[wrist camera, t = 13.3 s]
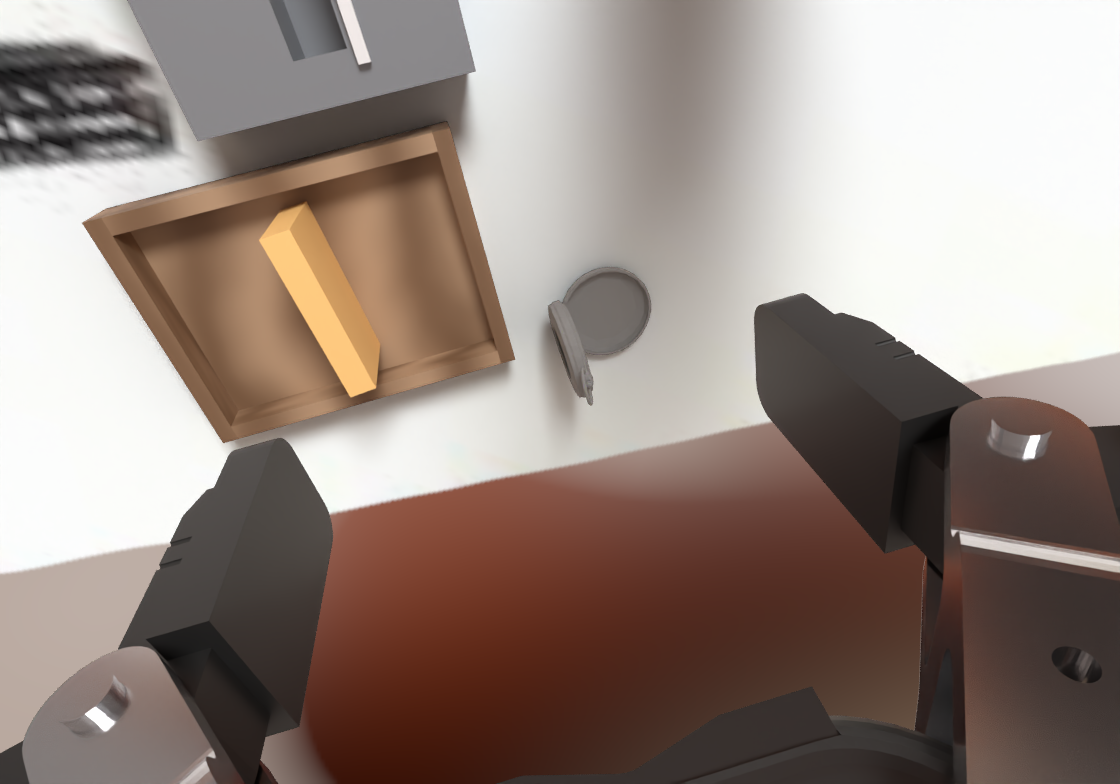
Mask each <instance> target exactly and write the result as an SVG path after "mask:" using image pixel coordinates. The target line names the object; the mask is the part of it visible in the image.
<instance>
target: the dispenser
mask: <svg viewBox="0 0 1120 784" xmlns="http://www.w3.org/2000/svg"><path fill="white" fill-rule="evenodd" d="M127 1H128V3H129V5H130V7H131V9H132V11H133V13H134V15H135V17H136V19H137V21H138V23H139V25H140V27H141V29H142V31H143V33H144V35H145V37H146V39H147V41H148V43H149V45H150V47H151V49H152V51H153V53H154V55H155V57H156V59H157V61H158V63H159V65H160V67H161V69H162V71H163V73H164V75H165V77H166V79H167V81H168V83H169V85H170V87H171V89H172V91H173V93H174V95H175V97H176V99H177V101H178V103H179V105H180V107H181V109H182V111H183V113H184V115H185V117H186V119H187V121H188V123H189V125H190V127H191V129H192V131H193V133H194V135H195V137H196V139H197V141H201V140H205V139H209V138H213V137H217V136H221V135H225V134H229V133H233V132H237V131H241V130H245V129H249V128H253V127H257V126H261V125H265V124H269V123H273V122H277V121H281V120H285V119H288V118H292V117H296V116H300V115H304V114H308V113H312V112H316V111H320V110H324V109H328V108H332V107H336V106H340V105H344V104H348V103H352V102H356V101H360V100H364V99H368V98H372V97H376V96H380V95H384V94H388V93H392V92H396V91H400V90H404V89H408V88H412V87H416V86H420V85H424V84H428V83H432V82H436V81H440V80H444V79H448V78H452V77H456V76H459V75H463V74H467V73H471V72H475V71H476V70H475V66H474V62H473V58H472V54H471V50H470V46H469V42H468V38H467V34H466V30H465V26H464V22H463V18H462V14H461V10H460V6H459V2H458V0H127Z"/></svg>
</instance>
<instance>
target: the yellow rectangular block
mask: <svg viewBox="0 0 1120 784" xmlns="http://www.w3.org/2000/svg"><path fill="white" fill-rule="evenodd" d="M259 241H260V243H261V245H262V246H263V248H264V250H265V251H266V253H267V255H268V257H269V258H270V260H271V262H272V263H273V265H274V267H275V269H276V270H277V272H278V274H279V275H280V277H281V279H282V281H283V282H284V284H285V286H286V288H287V289H288V291H289V293H290V294H291V296H292V298H293V300H294V301H295V303H296V305H297V306H298V308H299V310H300V312H301V313H302V315H303V317H304V318H305V320H306V322H307V324H308V325H309V327H310V329H311V330H312V332H313V334H314V336H315V337H316V339H317V341H318V343H319V344H320V346H321V348H322V349H323V351H324V353H325V355H326V356H327V358H328V360H329V361H330V363H331V365H332V367H333V368H334V370H335V372H336V373H337V375H338V377H339V379H340V380H341V382H342V384H343V385H344V387H345V389H346V391H347V392H348V394H349V396H350V397H353V396H356V395H359V394H361V393H364V392H367V391H370V390H373V389H375V388H376V384H377V374H378V363H379V353H380V343H379V341H378V339H377V337H376V335H375V333H374V331H373V329H372V327H371V325H370V323H369V321H368V319H367V317H366V316H365V314H364V312H363V310H362V308H361V306H360V304H359V302H358V300H357V298H356V296H355V294H354V292H353V290H352V289H351V287H350V285H349V283H348V281H347V279H346V277H345V275H344V273H343V271H342V269H341V267H340V265H339V263H338V261H337V260H336V258H335V256H334V254H333V252H332V250H331V248H330V246H329V244H328V242H327V240H326V238H325V236H324V234H323V232H322V231H321V229H320V227H319V225H318V223H317V221H316V219H315V217H314V215H313V213H312V211H311V209H310V207H309V205H308V203H307V202H303V203H300V204H297V205H294V206H291V207H289V208H286V209H283V210H280V212H279V213H278V214H277V216H276V217H275V219H274V220H273V221H272V223H271V224H270V226H269V227H268V228H267V230H266V231H265V233H264V234H263V235H262V237H261V238H260V239H259Z"/></svg>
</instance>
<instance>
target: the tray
mask: <svg viewBox="0 0 1120 784" xmlns="http://www.w3.org/2000/svg"><path fill="white" fill-rule="evenodd" d="M303 202H307V203H308V205H309V207H310V209H311V211H312V213H313V215H314V217H315V219H316V221H317V223H318V225H319V227H320V229H321V231H322V232H323V234H324V236H325V238H326V240H327V242H328V244H329V246H330V248H331V250H332V252H333V254H334V256H335V258H336V260H337V261H338V263H339V265H340V267H341V269H342V271H343V273H344V275H345V277H346V279H347V281H348V283H349V285H350V287H351V289H352V290H353V292H354V294H355V296H356V298H357V300H358V302H359V304H360V306H361V308H362V310H363V312H364V314H365V316H366V317H367V319H368V321H369V323H370V325H371V327H372V329H373V331H374V333H375V335H376V337H377V339H378V341H379V343H380V353H379V363H378V374H377V384H376V388H375V389H373V390H370V391H367V392H364V393H361V394H359V395H356V396H353V397H350V396H349V394H348V392H347V391H346V389H345V387H344V385H343V384H342V382H341V380H340V379H339V377H338V375H337V373H336V372H335V370H334V368H333V367H332V365H331V363H330V361H329V360H328V358H327V356H326V355H325V353H324V351H323V349H322V348H321V346H320V344H319V343H318V341H317V339H316V337H315V336H314V334H313V332H312V330H311V329H310V327H309V325H308V324H307V322H306V320H305V318H304V317H303V315H302V313H301V312H300V310H299V308H298V306H297V305H296V303H295V301H294V300H293V298H292V296H291V294H290V293H289V291H288V289H287V288H286V286H285V284H284V282H283V281H282V279H281V277H280V275H279V274H278V272H277V270H276V269H275V267H274V265H273V263H272V262H271V260H270V258H269V257H268V255H267V253H266V251H265V250H264V248H263V246H262V245H261V243H260V241H259V239H260V238H261V237H262V235H263V234H264V233H265V231H266V230H267V228H268V227H269V226H270V224H271V223H272V221H273V220H274V219H275V217H276V216H277V214H278V213H279V212H280V210H283V209H286V208H289V207H291V206H294V205H297V204H300V203H303ZM82 224H83V225H84V227H85V228H86V230H87V231H88V233H89V235H90V236H91V238H92V239H93V241H94V242H95V244H96V245H97V247H98V249H99V250H100V252H101V253H102V255H103V256H104V258H105V259H106V261H107V263H108V264H109V266H110V267H111V269H112V270H113V272H114V273H115V275H116V277H117V278H118V280H119V281H120V283H121V284H122V286H123V288H124V289H125V291H126V292H127V294H128V295H129V297H130V298H131V300H132V302H133V303H134V305H135V306H136V308H137V309H138V311H139V312H140V314H141V316H142V317H143V319H144V320H145V322H146V323H147V325H148V326H149V328H150V330H151V331H152V333H153V334H154V336H155V337H156V339H157V341H158V342H159V344H160V345H161V347H162V348H163V350H164V351H165V353H166V355H167V356H168V358H169V359H170V361H171V362H172V364H173V365H174V367H175V369H176V370H177V372H178V373H179V375H180V376H181V378H182V379H183V381H184V383H185V384H186V386H187V387H188V389H189V390H190V392H191V394H192V395H193V397H194V398H195V400H196V401H197V403H198V404H199V406H200V408H201V409H202V411H203V412H204V414H205V415H206V417H207V418H208V420H209V422H210V423H211V425H212V426H213V428H214V429H215V431H216V432H217V434H218V436H219V437H220V439H221V440H222V442H223V443H225V442H229V441H232V440H236V439H239V438H243V437H246V436H250V435H253V434H257V433H260V432H264V431H267V430H271V429H274V428H278V427H281V426H285V425H288V424H292V423H295V422H299V421H302V420H306V419H309V418H313V417H316V416H320V415H323V414H327V413H330V412H334V411H337V410H341V409H344V408H348V407H351V406H355V405H358V404H362V403H365V402H369V401H372V400H376V399H379V398H383V397H386V396H390V395H393V394H397V393H400V392H404V391H407V390H410V389H414V388H417V387H421V386H424V385H428V384H431V383H435V382H438V381H442V380H445V379H449V378H452V377H456V376H459V375H463V374H466V373H470V372H473V371H477V370H480V369H484V368H487V367H491V366H494V365H498V364H501V363H505V362H508V361H512V360H515V357H514V353H513V350H512V346H511V343H510V339H509V336H508V332H507V329H506V325H505V321H504V318H503V314H502V311H501V307H500V304H499V300H498V297H497V293H496V290H495V286H494V283H493V279H492V275H491V272H490V268H489V265H488V261H487V258H486V254H485V251H484V247H483V244H482V240H481V237H480V233H479V230H478V226H477V222H476V219H475V215H474V212H473V208H472V205H471V201H470V198H469V194H468V191H467V187H466V184H465V180H464V176H463V173H462V169H461V166H460V162H459V159H458V155H457V152H456V148H455V145H454V141H453V138H452V134H451V131H450V127H449V125H448V122H447V121H446V122H442V123H438V124H434V125H431V126H427V127H423V128H419V129H415V130H411V131H407V132H403V133H399V134H396V135H392V136H388V137H384V138H380V139H376V140H372V141H368V142H364V143H360V144H357V145H353V146H349V147H345V148H341V149H337V150H333V151H329V152H325V153H321V154H318V155H314V156H310V157H306V158H302V159H298V160H294V161H290V162H286V163H282V164H279V165H275V166H271V167H267V168H263V169H259V170H255V171H251V172H247V173H243V174H240V175H236V176H232V177H228V178H224V179H220V180H216V181H212V182H208V183H204V184H201V185H197V186H193V187H189V188H185V189H181V190H177V191H173V192H169V193H165V194H162V195H158V196H154V197H150V198H146V199H142V200H138V201H134V202H130V203H126V204H123V205H119V206H115V207H111V208H107V209H105V210H103V211H101V212H100V213H98V214H96V215H94V216H93V217H91V218H89V219H88V220H86V221H84V222H83V223H82Z"/></svg>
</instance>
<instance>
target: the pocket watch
mask: <svg viewBox="0 0 1120 784" xmlns="http://www.w3.org/2000/svg"><path fill="white" fill-rule="evenodd" d="M548 312H549V318H550V322H551V326H552V329H553V332H554V336H555V339H556V342H557V346H558V349H559V352H560V354H561V357H562V360H563V363H564V366H565V368H566V371H567V374H568V377H569V379H570V381H571V384H572V386H573V388H574V390H575V392H576V393H577V395H578V396H579V398H580V397H586V399H587V402H588V404H589V405H590V406H591V405H592V404H593V397H592V392H591V391H592V390H593V377H592V375H591V373H590V369H589V365H588V362H587V358H586V355H585V352H586V353H590V354H594V355H608V354H612V353H615V352H618V351H621V350H623V349H625V348H627V347H628V346H630V345H631V344H632V343H634V342H635V341H636V340H637V339H638V338H639V336H640V335H641V334H642V333H643V331H644V329H645V327H646V326H647V323H648V320H649V317H650V313H651V301H650V296H649V293H648V290H647V288H646V287H645V285H644V283H643V282H642V281H640V280H639V279H638V278H637V277H636V276H635V275H634V274H633V273H631V272H629V271H627V270H624V269H621V268H615V267H605V268H599V269H595V270H592V271H590V272H588V273H586V274H584V275H583V276H581V277H580V278H579V279H577V280H576V281H575V282H574V284H573V285H572V286H571V287H570V288H569V289H568V291H567V293H566V295H565V297H564V299H563V302H562V303H561V302H560V301H559V300H558V301H555V302H553V303H552V304H551V305H549V306H548Z"/></svg>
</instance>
